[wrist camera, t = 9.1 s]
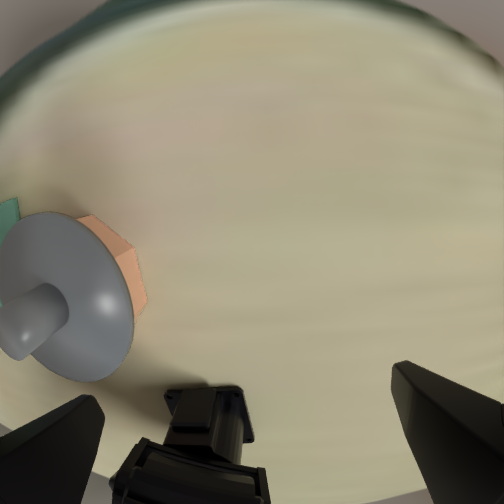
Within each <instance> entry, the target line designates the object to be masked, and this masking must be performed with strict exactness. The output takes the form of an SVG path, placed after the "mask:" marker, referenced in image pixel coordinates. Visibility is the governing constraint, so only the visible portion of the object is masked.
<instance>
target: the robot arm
mask: <svg viewBox="0 0 504 504" xmlns="http://www.w3.org/2000/svg"><path fill="white" fill-rule="evenodd" d="M391 392H392V396H393V399H394V402H395V405H396V408H397V411H398V414H399V418H400V421H401V424H402V427H403V431H404V434H405V437H406V439H407V441H408V444H409V446H410V448H411V451H412V453H413V455H414V457H415V460H416V462H417V464H418V467H419V469H420V471H421V474H422V476H423V478H424V481H425V483H426V486H427V488H428V490H429V493H430V495H431V498H432V500H433V503H434V504H504V404H503V403H502V404H501V402H499V401H496V400H494V399H492V398H489V397H487V396H485V395H482V394H480V393H478V392H476V391H473V390H471V389H469V388H467V387H464V386H462V385H460V384H458V383H456V382H453V381H451V380H449V379H447V378H445V377H442V376H440V375H438V374H436V373H434V372H431V371H429V370H427V369H425V368H423V367H421V366H418V365H416V364H414V363H412V362H410V361H407V360H405V361H401V362H398V363H395V364H394V365H393V367H392V379H391ZM235 393H239V394H235ZM169 395H171V396H172V397H171V396H169ZM164 398H165V401H166V403H167V405H168V408H169V410H170V412H171V415H172V419H171V421H170V427H169V429H168V432H167V434H166V437H165V440H164V442H163V445H161V444H158V443H155V442H152V441H150V439H147V438H144V437H142V438H141V440H140V441H139V443H138V444H135V446H134V447H133V448H132V450H131V452H130V453H129V455H128V457H127V458H126V460H125V461H124V463H123V464H122V466H121V467H120V469H119V470H118V471H117V472H116V473H115V474H114V475H113V476H112V477H111V478H110V480H109V486H110V488H111V489H112V491H113V493H112V497H113V498H112V504H271V500H270V495H269V489H268V483H267V477H266V470H265V468H261V467H257V468H254V467H248V466H243V465H240V463H241V454H242V444H243V443H252V442H254V437H255V436H254V432H253V428H252V424H251V420H250V416H249V412H248V408H247V404H246V400H245V396H244V392H243V390H242V389H241V388H239V387H229V388H211V389H185V390H167V391H166V392H165V394H164ZM104 422H105V415H104V413H103V411H102V409H101V407H100V406H99V404H98V402H97V400H96V398H95V397H94V396H92V395H85V394H84V395H80V396H78V397H77V398H75V399H73V400H71V401H69V402H67V403H65V404H64V405H62V406H60V407H58V408H56V409H54V410H52V411H51V412H49V413H47V414H45V415H43V416H41V417H39V418H37V419H35V420H33V421H31V422H29V423H28V424H26V425H24V426H22V427H20V428H18V429H16V430H14V431H12V432H10V433H8V434H6V435H4V436H2V437H0V504H81V501H82V498H83V495H84V491H85V488H86V485H87V482H88V479H89V476H90V473H91V470H92V467H93V464H94V461H95V458H96V455H97V451H98V447H99V442H100V438H101V434H102V430H103V426H104Z"/></svg>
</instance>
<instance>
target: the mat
mask: <svg viewBox="0 0 504 504" xmlns="http://www.w3.org/2000/svg"><path fill="white" fill-rule="evenodd" d="M19 220H20V215H19V209H18V203H17V198H12V199H10V200H8V201H6V202H4V203H1V204H0V248H1V245H2V243H3V240H4V238H5V236H6V235H7V233H8V231H9V230H10V229H11V228H12V227H13V225H14V224H15V223H17V222H18V221H19ZM0 307H2V303H1V299H0Z"/></svg>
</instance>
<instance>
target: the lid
mask: <svg viewBox="0 0 504 504" xmlns="http://www.w3.org/2000/svg"><path fill="white" fill-rule="evenodd" d="M0 299H1V303H2V307H0V347H1V348H2V350H3V351H4V352H5V353H6V354H7V355H8V356H10V357H11V358H13V359H15V360H18V361H20V360H23V359H24V358H25V357H27V356H28V355H29V354H31V355H32V356H33V357H34V358H35V359H36V360H37V361H39V362H40V363H41V364H42V365H43V366H45V367H46V368H48V369H49V370H51V371H52V372H54V373H56V374H58V375H60V376H62V377H65V378H67V379H71V380H74V381H80V382H93V381H98V380H101V379H104V378H106V377H108V376H109V375H111V374H112V373H113V372H114V371H115V370H116V369H117V368H118V367H119V366H120V364H121V363H122V362H123V360H124V359H125V357H126V356H127V354H128V352H129V350H130V348H131V344H132V341H133V335H134V310H133V304H132V299H131V295H130V292H129V289H128V286H127V283H126V280H125V278H124V276H123V273H122V271H121V269H120V267H119V265H118V263H117V262H116V260H115V258H114V256H113V255H112V254H111V252H110V251H109V249H108V248H107V247H106V245H105V244H104V243H103V242H102V241H101V239H100V238H99V237H98V236H97V235H96V234H95V233H94V232H93V231H92V230H90V229H89V228H88V227H87V226H85V225H84V224H83V223H81V222H80V221H78V220H76V219H74V218H72V217H70V216H68V215H65V214H62V213H57V212H42V213H37V214H33V215H29V216H26V217H24V218H22V219H21V220H19V221H18V222H17V223H15V224H14V225H13V227H12V228H11V229H10V230H9V231H8V233H7V235H6V236H5V238H4V240H3V243H2V245H1V248H0Z"/></svg>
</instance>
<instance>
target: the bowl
mask: <svg viewBox="0 0 504 504" xmlns="http://www.w3.org/2000/svg"><path fill="white" fill-rule="evenodd" d="M76 220H78V221H80V222H81V223H83V224H84V225H85V226H87V227H88V228H89V229H90V230H92V231H93V232H94V233H95V234H96V235H97V236H98V237H99V238H100V239H101V241H102V242H103V243H104V244H105V245H106V247H107V248H108V249H109V251H110V252H111V254H112V255H113V256H114V258H115V260H116V262H117V263H118V265H119V267H120V269H121V271H122V273H123V276H124V278H125V280H126V283H127V286H128V289H129V292H130V295H131V299H132V304H133V310H134V324H135V322H136V320H137V319H138V317H139V315H140V314H141V312H142V310H143V309H144V307H145V305H146V304H147V302H148V300H147V296H146V293H145V289H144V285H143V281H142V278H141V274H140V270H139V266H138V262H137V257H136V253H135V249H134V247H133V246H132V245H131V244H129V243H128V242H127V241H125V240H124V239H123V238H122V237H120V236H119V235H118V234H116V233H115V232H114V231H113V230H111V229H110V228H109V227H107V226H106V225H105V224H104V223H102V222H101V221H100V220H99V219H97V218H96V217H95V216H94V215H90V216H86V217H82V218H78V219H76Z"/></svg>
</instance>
